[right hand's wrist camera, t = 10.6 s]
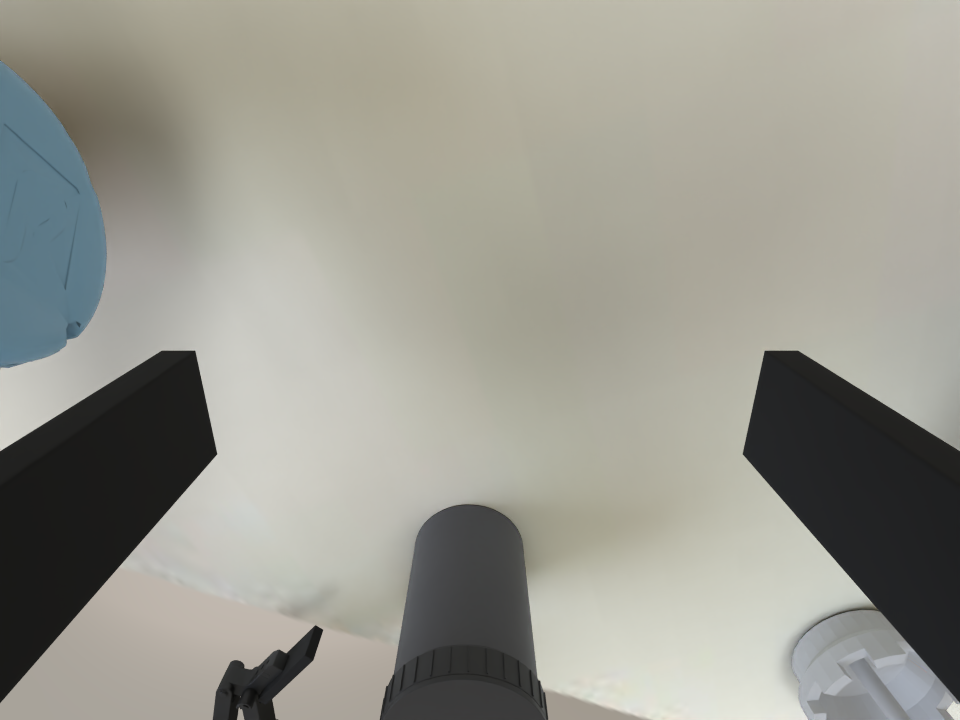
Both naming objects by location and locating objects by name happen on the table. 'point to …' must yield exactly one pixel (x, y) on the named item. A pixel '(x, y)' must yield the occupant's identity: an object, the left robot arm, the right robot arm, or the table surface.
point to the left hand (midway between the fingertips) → (384, 682)
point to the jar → (467, 587)
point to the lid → (464, 687)
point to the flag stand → (865, 673)
